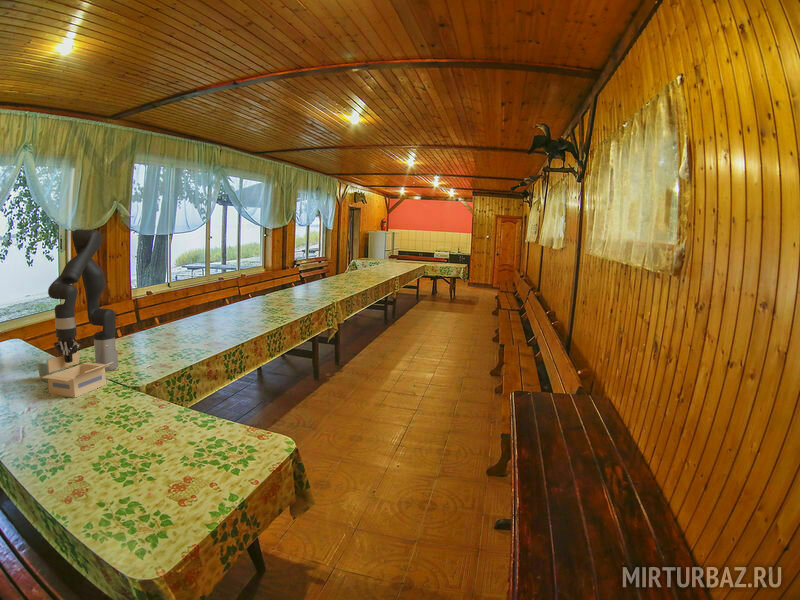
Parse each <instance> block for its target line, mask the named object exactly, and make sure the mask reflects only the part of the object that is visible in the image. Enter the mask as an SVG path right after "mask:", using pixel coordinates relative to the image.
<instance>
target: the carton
mask: <svg viewBox="0 0 800 600" xmlns="http://www.w3.org/2000/svg"><path fill="white" fill-rule="evenodd" d="M103 365H105V364H98V363H95V362H89V361H86V362H84V363H81V364H79V365H76V366H71V367H69V368H66V369H63V370H60V372H57V373H54V374H51V375H46V376H43V377H41V378H45V379H48V382H47V384H48V386H47V387H48V394H49V395H52V396H53V395H54V396H58V397H64V398H65V397H66V398H71V397H72V399H73V398H74V399H77V398H78V396H79V397H81V396H84V395H86V394H89V393H91V392H93V391H92V390H94V391H96V390H98V389H97V388H99V387H101V386H104V385H106V386H107V382H106V380H107V379H106V371H105V367H104V368H101V369H98V370H95V371H93V372H90V373H87V374H84V375H81V376H79V377H76V376H78V375H80V374H81V373H83V372H86V371H88V370H91V369H94V368H97V367H100V366H103ZM108 366H110V365H108ZM108 366H106V367H108ZM41 378H40V379H41ZM104 387H105V386H104ZM101 388H102V387H101ZM95 389H96V390H95ZM99 389H100V388H99ZM90 391H91V392H90ZM88 392H89V393H88ZM85 393H86V394H85ZM83 394H84V395H83ZM80 395H81V396H80ZM76 397H77V398H76Z"/></svg>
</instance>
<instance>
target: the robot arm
mask: <svg viewBox="0 0 800 600" xmlns="http://www.w3.org/2000/svg"><path fill="white" fill-rule="evenodd" d="M71 236H72V243H73V247H74V250H75V253H76V255H75V256H74V257H72V258H71V259H69V260H68V262H67V263H66V264H65V266H64V267H63V269H62V271H61V274H60V275H59V276H58V277H57V278H56V279H55V280H53V282H52V283H50V285H49V287H48V290H47V295H48V297H49V298H51V299H54V300H64V302H63V303H60V304H56V305H55V307H54V316H55V318H54V320H55V321H54V324H55V325H54V326H55V327H54V328H55V336H56V338H57V341H56V342H53V345H54V347H56V350H58V352H59V353H60V354H62V356H63V355H64V358H65V362H66V363H70V362H72V361H73V358H72V354H74V353H76V352H77V351H79V349H80V348H81V346H82V344H81V343H78V342H77V339H76V336H77V333H78V332H77V331H78V330H77V321H76V316H75V306H76V305H75V304H76V300H77V298H78V289H77V286H75V285H74V284H76V283H78V282H79V281H80V279H81V278H82V284H83V288H84V293H85V298H86V299H85V300H86V310H87V319H88V321H89V324H91V326H96V327H97V326H98V327H102V330H100V331H97V332H94V333H93V345H94V361H95V362H94V363H98V364H108V363H111V362H113V363H112V364H110V366H108V367H105V372H109V371H113V370H115V369H117V368H118V367H119V358H118V357H119V356H118V349H116V331H117V325H116V324H117V322H116V321H117V319H116V318H117V317H116V313H115V311H114V309H111V308H101V307H100V297H101V294H103V292H104V290H105V287H106V279H105V273H104V270H103V269H102V268H101V267H100V266H99V264H97V262H96V261H95V260H94V259H93V257H94V256H95V255H96V253H97V251H98V250H100V247H101V246H102V244H103V234H102V233H101V232H100V231H99V230H96V229H83V228H78V229H75V230H73V232H72V235H71Z"/></svg>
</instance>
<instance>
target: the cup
mask: <svg viewBox="0 0 800 600" xmlns="http://www.w3.org/2000/svg"><path fill="white" fill-rule="evenodd" d="M50 359H51V358H47V359H46V358H45V359H42V360H40V361H38V363H37V369H38V375H39V378H40V380H41V381H42V382H45V383H46V382H47V383H48V379H45V378H41V377H43V376H46V375H51V374H54V373H57V372H60V371H61V369H59V370H56V371H53V372H50V373H48V361H47V360H50Z"/></svg>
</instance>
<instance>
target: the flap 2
mask: <svg viewBox="0 0 800 600" xmlns="http://www.w3.org/2000/svg"><path fill="white" fill-rule="evenodd" d="M112 363H113V362H111V363H108V364H105V365H103V366H100V367H97V368H94V369H91V370H88V371H86V372H83V373H81V374H80V375H78V376H76V377H79V376H81V375H84V374H87V373H90V372H93V371H95V370H98V369H101V368H104V367H106V366H108V365H110V364H112Z"/></svg>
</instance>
